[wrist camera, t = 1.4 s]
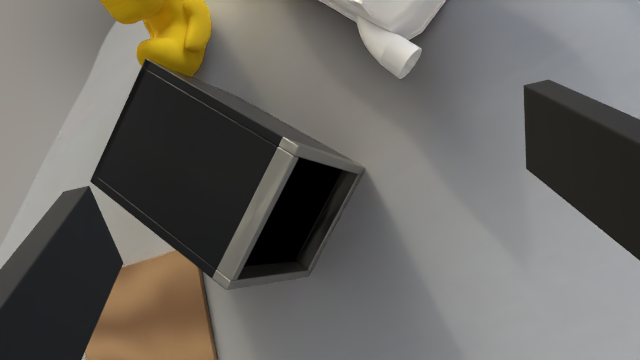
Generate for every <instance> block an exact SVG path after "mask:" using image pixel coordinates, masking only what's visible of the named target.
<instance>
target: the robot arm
mask: <svg viewBox="0 0 640 360" xmlns="http://www.w3.org/2000/svg"><path fill="white" fill-rule="evenodd" d="M524 110H525V142H526V169H527V170H529V171H530V172H531V173H532V174H534V175H535V176H536V177H537V178H539V179H540V180H541V181H542V182H543V183H545V184H546V185H547V186H548V187H550V188H551V189H552V190H553V191H555V192H556V193H557V194H558V195H560V196H561V197H562V198H563V199H564V200H566V201H567V202H568V203H569V204H571V205H572V206H573V207H574V208H576V209H577V210H578V211H579V212H581V213H582V214H583V215H584V216H585V217H587V218H588V219H589V220H590V221H592V222H593V223H594V224H595V225H597V226H598V227H599V228H600V229H602V230H603V231H604V232H605V233H606V234H608V235H609V236H610V237H611V238H613V239H614V240H615V241H616V242H618V243H619V244H620V245H621V246H623V247H624V248H625V249H626V250H627V251H629V252H630V253H631V254H632V255H634V256H635V257H636V258H637V259H639V260H640V120H639V119H637V118H635V117H632V116H630V115H628V114H626V113H623V112H621V111H619V110H617V109H614V108H612V107H610V106H607V105H605V104H603V103H601V102H598V101H596V100H594V99H592V98H589V97H587V96H585V95H582V94H580V93H578V92H576V91H573V90H571V89H569V88H567V87H564V86H562V85H560V84H557V83H555V82H553V81H551V80H545V81H541V82H536V83H532V84H528V85H524ZM122 265H123V261H122V259H121V256H120V254H119V252H118V250H117V247H116V245H115V243H114V241H113V238H112V236H111V234H110V232H109V229H108V227H107V225H106V223H105V220H104V218H103V216H102V214H101V211H100V209H99V207H98V205H97V202H96V200H95V198H94V196H93V193H92V191H91V189H90V187H89V186H87V187H82V188H78V189H74V190H69V191H65V192H63V193H62V194H61V196H60V197H59V198H58V199H57V200H56V202H55V203H54V204H53V205H52V207H51V208H50V209H49V210H48V212H47V213H46V214H45V215H44V216H43V218H42V219H41V220H40V221H39V223H38V224H37V225H36V226H35V228H34V229H33V230H32V231H31V232H30V234H29V235H28V236H27V237H26V239H25V240H24V241H23V242H22V244H21V245H20V246H19V247H18V248H17V250H16V251H15V252H14V253H13V255H12V256H11V257H10V258H9V260H8V261H7V262H6V263H5V264H4V266H3V267H2V268H1V269H0V360H81V359H82V357H83V355H84V352H85V350H86V348H87V346H88V343H89V341H90V339H91V336H92V334H93V332H94V329H95V327H96V325H97V323H98V320H99V318H100V316H101V313H102V311H103V309H104V306H105V304H106V302H107V300H108V297H109V295H110V293H111V290H112V288H113V286H114V283H115V281H116V279H117V277H118V274H119V272H120V270H121V267H122Z"/></svg>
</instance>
